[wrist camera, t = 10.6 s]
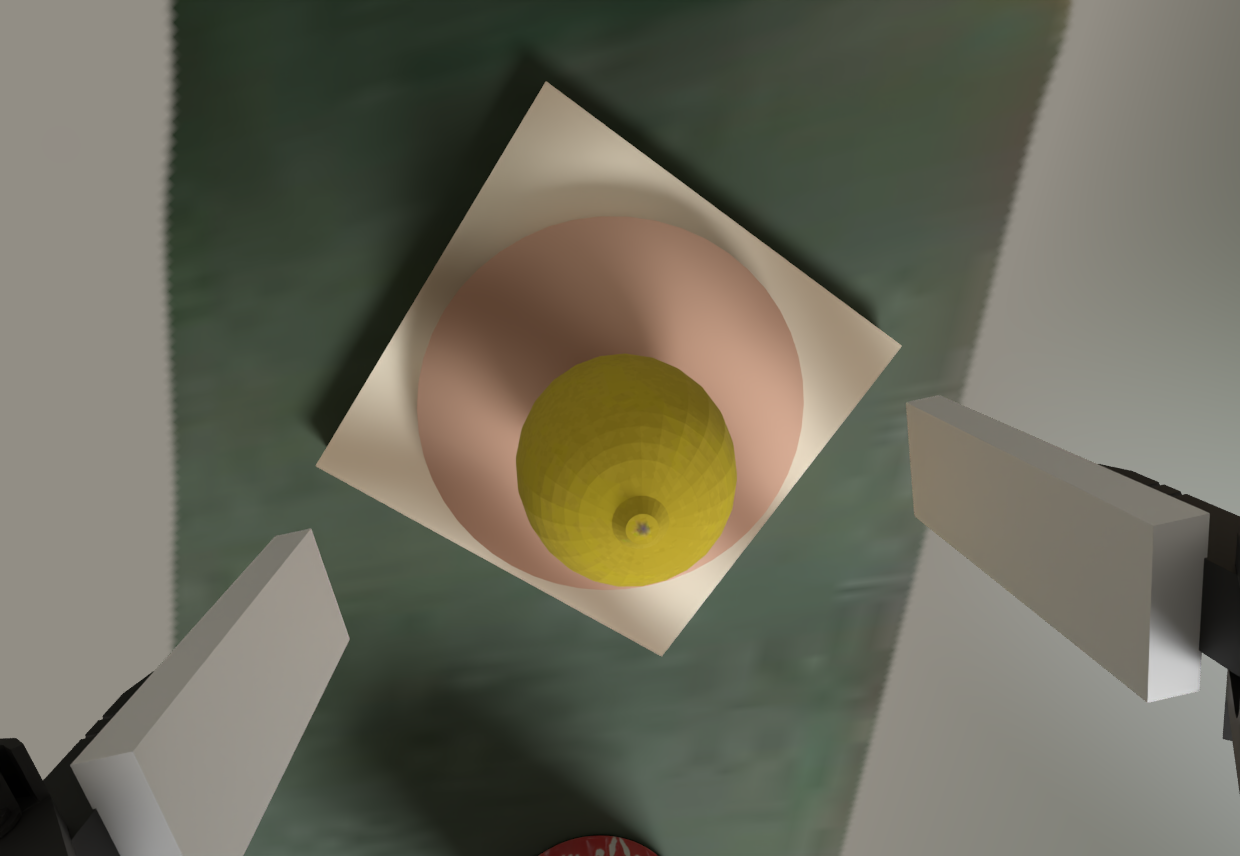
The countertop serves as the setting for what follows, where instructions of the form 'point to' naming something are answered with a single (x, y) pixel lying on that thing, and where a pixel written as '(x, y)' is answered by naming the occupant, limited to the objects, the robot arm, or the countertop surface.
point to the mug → (599, 847)
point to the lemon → (626, 470)
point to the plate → (598, 354)
